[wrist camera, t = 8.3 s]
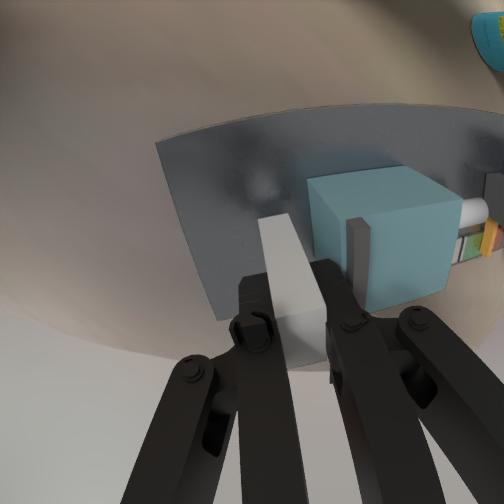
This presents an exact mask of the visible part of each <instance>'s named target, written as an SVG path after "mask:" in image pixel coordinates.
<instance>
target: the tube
mask: <svg viewBox="0 0 504 504" xmlns="http://www.w3.org/2000/svg"><path fill="white" fill-rule="evenodd" d="M471 30H472V35H473V38H474V41H475V44H476V47H477V49H478V51H479V53H480V55H481V56H482V58H483V59H484V61H485V62H486V63H487V64H488V65H489V66H490V67H491V68H493V69H494V70H497V71H501V72H504V12H492V13H482V14H476V15H475V16H474V17H473V19H472V25H471Z"/></svg>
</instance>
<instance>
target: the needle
mask: <svg viewBox="0 0 504 504" xmlns="http://www.w3.org/2000/svg"><path fill="white" fill-rule="evenodd" d="M483 200H484V201H485V202H486V204H487V206H488V218H487V220H486V225H485V230H484V235H483V239H482V243H481V247H480V251H479V252H480V253H481V254H482V255H483V256H484V257H485V258H488V257H490V256H491V252H492V249H493V245H494V241H495V237H496V233H497V229H498V224H500V225H501V226H502V227H504V175H503V174H501V173H489V174H486V183H485V192H484V199H483Z"/></svg>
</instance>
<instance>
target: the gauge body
mask: <svg viewBox="0 0 504 504" xmlns="http://www.w3.org/2000/svg"><path fill="white" fill-rule="evenodd" d="M307 186H308V194H309V203H310V212H311V221H312V231H313V241H314V252H315V261H318V260H323V259H327V258H329V259H331V260H332V261H334V262H335V263H336V264H338V266H339V268H340V270H341V272H342V274H343V275H344V277H345V279H346V281H347V283H348V285H349V287H350V289H351V290H352V292H353V294H354V296H355V298H356V300H357V302H358V304H359V306H360V307H361V308H362V309H364V310H365V311H367V312H369V313H372V312H376V311H379V310H383V309H386V308H389V307H393V306H396V305H399V304H403V303H406V302H409V301H412V300H415V299H418V298H421V297H424V296H427V295H430V294H433V293H436V292H439V291H442V290H444V289H445V286H446V282H447V279H448V275H449V271H450V267H451V263H452V259H453V255H454V250H455V246H456V241H457V236H458V231H459V229H461V228H465V227H469V226H473V225H477V224H481V223H484V222H485V221H486V220H487V218H488V206H487V204H486V202H485V201H484V200H483V199H482V198H479V197H478V198H472V199H466V200H463V198H461V197H460V196H458V195H456V194H455V193H453V192H452V191H450V190H448V189H447V188H445V187H443V186H442V185H440V184H438V183H437V182H435V181H433V180H431V179H430V178H428V177H426V176H424V175H422V174H421V173H419V172H417V171H415V170H413V169H411V168H409V167H407V166H398V167H388V168H380V169H371V170H363V171H356V172H348V173H341V174H335V175H328V176H321V177H315V178H309V179H307Z"/></svg>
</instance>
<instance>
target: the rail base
mask: <svg viewBox="0 0 504 504" xmlns="http://www.w3.org/2000/svg"><path fill="white" fill-rule="evenodd" d="M155 144H156V147H157V150H158V154H159V157H160V161H161V164H162V167H163V171H164V174H165V177H166V180H167V183H168V187H169V190H170V193H171V196H172V199H173V202H174V205H175V208H176V211H177V214H178V217H179V220H180V223H181V226H182V229H183V232H184V234H185V237H186V240H187V243H188V246H189V249H190V251H191V254H192V257H193V259H194V262H195V265H196V268H197V270H198V273H199V276H200V278H201V281H202V283H203V286H204V289H205V291H206V294H207V296H208V299H209V301H210V304H211V306H212V309H213V311H214V314H215V316H216V319H217V321H219V320H226V319H232V318H234V317H235V316H236V315H238V314H239V298H238V297H239V295H238V285H239V283H240V282H241V280H242V278H243V277H244V276H249V275H254V274H259V273H264V272H267V269H266V263H265V257H264V252H263V246H262V240H261V235H260V229H259V224H258V219H261V218H266V217H271V216H276V215H281V214H286V213H288V215H289V217H290V219H291V222H292V224H293V226H294V229H295V231H296V233H297V236H298V238H299V240H300V243H301V245H302V247H303V250H304V252H305V255H306V257H307V259H308V262H313V261H315V252H314V241H313V231H312V221H311V212H310V203H309V194H308V186H307V179H309V178H315V177H321V176H328V175H335V174H341V173H348V172H356V171H363V170H371V169H380V168H388V167H398V166H407V167H409V168H411V169H413V170H415V171H417V172H419V173H421V174H422V175H424V176H426V177H428V178H430V179H431V180H433V181H435V182H437V183H438V184H440V185H442V186H443V187H445V188H447V189H448V190H450V191H452V192H453V193H455V194H456V195H458V196H460V197H461V198H463V200H466V199H472V198H478V197H479V198H482V199H484V192H485V183H486V174H489V173H501V174H503V175H504V115H502V114H497V113H492V112H486V111H480V110H473V109H466V108H458V107H449V106H438V105H423V104H352V105H336V106H324V107H314V108H305V109H297V110H290V111H283V112H276V113H270V114H264V115H258V116H253V117H248V118H243V119H238V120H233V121H228V122H224V123H220V124H215V125H211V126H207V127H203V128H199V129H196V130H192V131H188V132H185V133H181V134H178V135H174V136H171V137H168V138H164V139H161V140H160V141H158V142H156V143H155ZM485 225H486V221H485V222H484V223H481V224H477V225H473V226H469V227H465V228H461V229H459V231H458V236H457V241H456V246H455V250H454V255H453V259H452V263H451V266H453V265H456V264H459V263H462V262H465V261H467V260H470V259H473V258H476V257H479V256H482V254H481V253H480V252H479V251H480V247H481V243H482V239H483V235H484V230H485ZM503 247H504V227H502V226H501V225H500V224H498V229H497V233H496V237H495V241H494V245H493V249H492V252H493V251H495V250H498V249H501V248H503Z"/></svg>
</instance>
